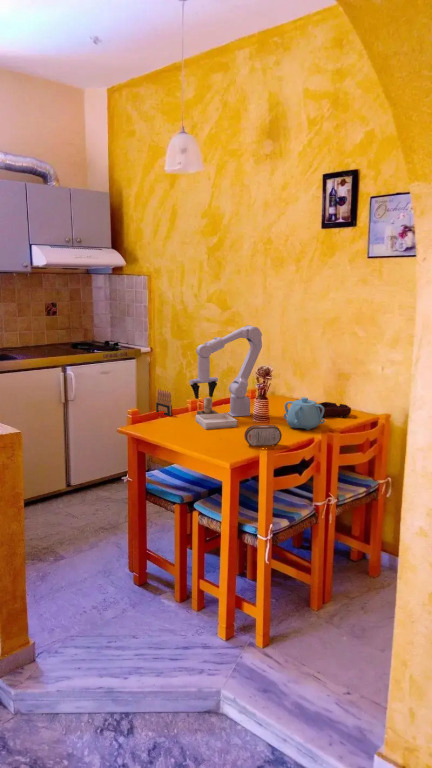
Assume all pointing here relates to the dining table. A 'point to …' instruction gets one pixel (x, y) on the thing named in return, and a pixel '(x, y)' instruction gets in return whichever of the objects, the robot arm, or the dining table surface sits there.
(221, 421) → the tray
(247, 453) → the dining table surface
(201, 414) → the frame
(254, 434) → the tin
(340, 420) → the dining table surface
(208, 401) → the dowel
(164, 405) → the ammunition clip
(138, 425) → the dining table surface
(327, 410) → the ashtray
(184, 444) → the dining table surface
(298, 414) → the decorative pot
